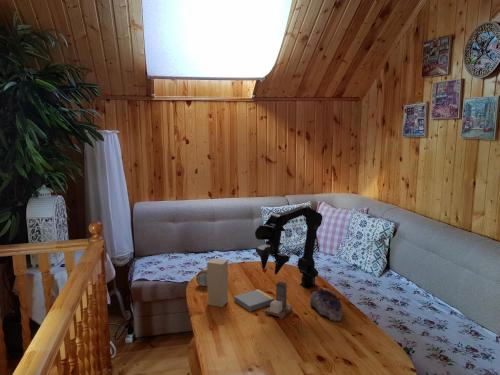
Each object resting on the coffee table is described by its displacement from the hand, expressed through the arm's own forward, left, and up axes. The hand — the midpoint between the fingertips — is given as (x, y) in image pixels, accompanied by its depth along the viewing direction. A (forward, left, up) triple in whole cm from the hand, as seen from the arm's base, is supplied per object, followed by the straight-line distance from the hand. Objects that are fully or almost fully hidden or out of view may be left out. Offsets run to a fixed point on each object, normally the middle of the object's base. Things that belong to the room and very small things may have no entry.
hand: (269, 271), depth 196 cm
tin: (+18, -29, -14) cm, 37 cm away
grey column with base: (+4, +14, -14) cm, 20 cm away
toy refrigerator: (+23, -9, -14) cm, 29 cm away
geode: (-16, +25, -14) cm, 33 cm away
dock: (+8, -1, -14) cm, 16 cm away
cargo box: (+6, +15, -12) cm, 20 cm away
